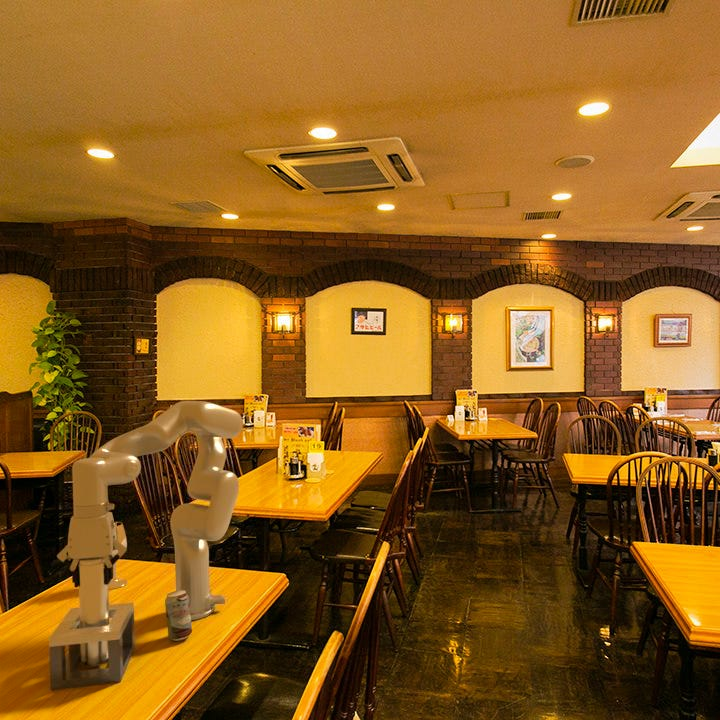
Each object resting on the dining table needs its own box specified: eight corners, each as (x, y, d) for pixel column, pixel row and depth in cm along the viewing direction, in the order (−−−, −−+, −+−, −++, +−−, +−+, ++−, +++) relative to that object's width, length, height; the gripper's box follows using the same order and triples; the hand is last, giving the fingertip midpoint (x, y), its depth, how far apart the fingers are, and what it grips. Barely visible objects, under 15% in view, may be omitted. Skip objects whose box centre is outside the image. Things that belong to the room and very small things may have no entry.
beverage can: (179, 646, 145) (177, 600, 145) (160, 639, 149) (159, 594, 148) (197, 635, 150) (196, 591, 150) (179, 628, 154) (178, 585, 154)
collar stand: (134, 648, 144) (133, 602, 144) (120, 682, 129) (119, 630, 129) (72, 655, 141) (71, 608, 141) (50, 690, 127) (49, 638, 126)
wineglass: (121, 589, 181) (120, 528, 181) (97, 589, 181) (96, 528, 181) (131, 579, 189) (130, 520, 189) (108, 579, 189) (107, 521, 189)
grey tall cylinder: (98, 668, 132) (96, 562, 131) (74, 665, 133) (71, 561, 132) (116, 653, 138) (113, 552, 138) (93, 651, 139) (90, 551, 139)
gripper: (132, 503, 140) (134, 574, 140) (58, 508, 137) (60, 581, 137) (125, 511, 133) (127, 586, 133) (46, 517, 130) (48, 593, 130)
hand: (93, 583), depth 135 cm, fingers closed on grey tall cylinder, 6 cm apart
